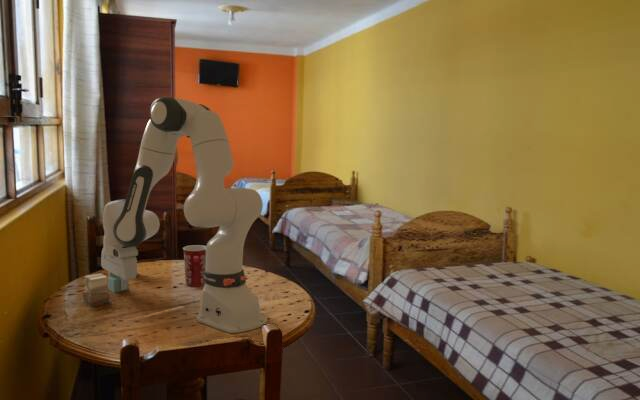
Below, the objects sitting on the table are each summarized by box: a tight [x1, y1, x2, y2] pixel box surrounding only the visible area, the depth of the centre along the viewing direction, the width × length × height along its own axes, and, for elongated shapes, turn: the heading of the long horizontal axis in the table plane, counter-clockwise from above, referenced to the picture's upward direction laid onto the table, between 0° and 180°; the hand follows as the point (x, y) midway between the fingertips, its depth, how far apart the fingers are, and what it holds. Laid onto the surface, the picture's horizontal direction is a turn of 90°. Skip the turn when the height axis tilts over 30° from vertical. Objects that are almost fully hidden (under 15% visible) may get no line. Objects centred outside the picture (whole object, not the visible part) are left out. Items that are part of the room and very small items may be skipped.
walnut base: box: [82, 290, 111, 306], centre depth 160 cm, size 6×6×3 cm
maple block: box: [84, 272, 108, 295], centre depth 159 cm, size 5×5×5 cm
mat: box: [80, 299, 112, 307], centre depth 160 cm, size 12×10×1 cm
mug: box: [182, 244, 206, 287], centre depth 180 cm, size 13×9×14 cm
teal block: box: [107, 275, 130, 294], centre depth 171 cm, size 5×5×5 cm
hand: (118, 286), depth 172 cm, fingers open, 6 cm apart
